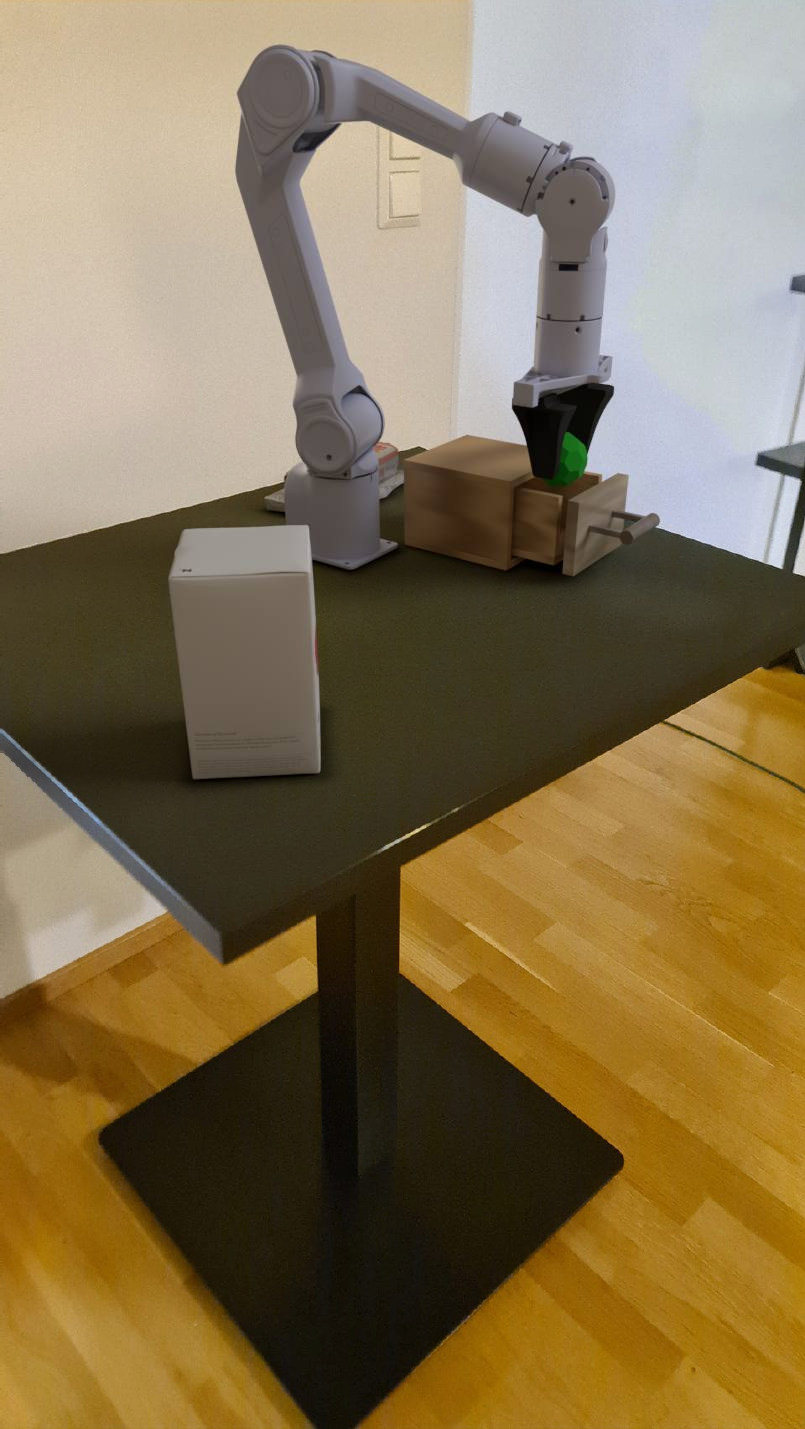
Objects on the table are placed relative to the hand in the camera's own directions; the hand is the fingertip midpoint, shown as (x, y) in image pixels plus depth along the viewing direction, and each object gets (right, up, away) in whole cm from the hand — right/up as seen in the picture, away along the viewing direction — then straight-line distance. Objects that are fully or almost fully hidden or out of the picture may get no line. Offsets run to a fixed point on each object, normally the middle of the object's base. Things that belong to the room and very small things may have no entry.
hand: (558, 470), depth 96 cm
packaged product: (-22, +3, +26) cm, 34 cm away
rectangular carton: (-25, -25, -22) cm, 42 cm away
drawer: (+2, -7, +7) cm, 10 cm away
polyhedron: (0, -1, +1) cm, 2 cm away
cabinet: (-6, -5, +13) cm, 15 cm away
